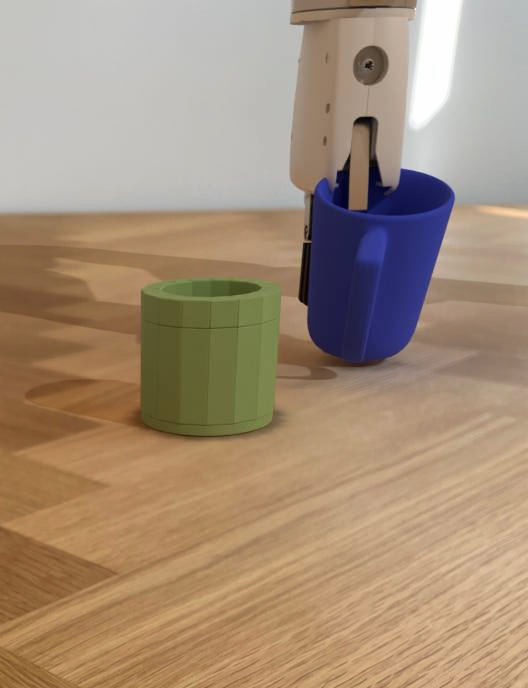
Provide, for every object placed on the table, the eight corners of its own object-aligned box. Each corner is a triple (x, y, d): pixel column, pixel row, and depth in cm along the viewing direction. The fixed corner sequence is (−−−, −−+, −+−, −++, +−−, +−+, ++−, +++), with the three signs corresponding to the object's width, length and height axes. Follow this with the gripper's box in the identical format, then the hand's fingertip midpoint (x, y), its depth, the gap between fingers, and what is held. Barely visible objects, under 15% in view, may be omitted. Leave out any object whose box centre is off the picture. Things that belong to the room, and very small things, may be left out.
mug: (276, 395, 65) (296, 237, 59) (303, 309, 74) (323, 161, 67) (412, 412, 63) (449, 250, 57) (424, 321, 72) (458, 170, 65)
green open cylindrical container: (255, 397, 62) (262, 274, 59) (287, 432, 56) (296, 296, 52) (133, 403, 62) (133, 280, 59) (151, 439, 55) (152, 303, 52)
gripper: (461, -18, 58) (414, 323, 66) (375, 3, 71) (345, 285, 79) (327, -15, 57) (296, 327, 66) (265, 5, 71) (247, 288, 79)
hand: (323, 303), depth 73 cm, fingers closed
